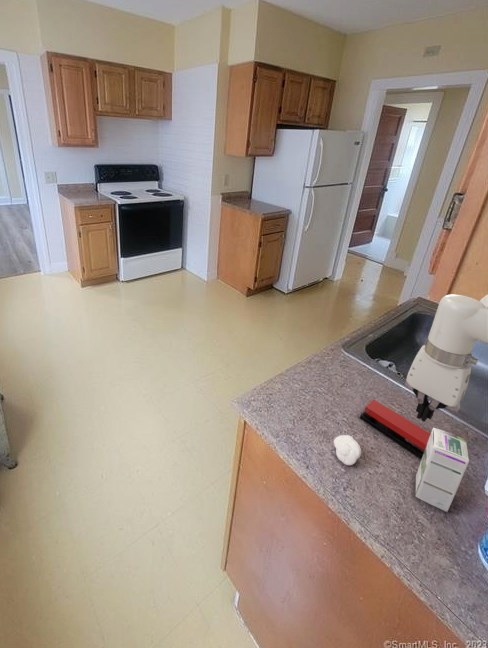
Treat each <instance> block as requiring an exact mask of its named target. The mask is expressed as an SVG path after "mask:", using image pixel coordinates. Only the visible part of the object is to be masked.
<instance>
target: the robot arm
mask: <svg viewBox="0 0 488 648" xmlns="http://www.w3.org/2000/svg"><path fill="white" fill-rule="evenodd" d="M476 341H478V342H482V343H484V344H486V345H488V294H486V295H485V296H483V297H482V298H481V299H480V300H478V299H475V298H474V297H470V296H467V295H462V294H447V295H446V294H445V295H444V296H443V297H442V298H441V299H440V301H439V302H438V306H437V308H436V311H435V316H434V319H433V321H432V325H431V327H430V330H429V334H428V336H427V340H426V343H425V344H423V345H422V346H421V347H420V349H419V350H418V352H417V353H416V354H415V357H414V359H413V361H412V362H411V366H410V368H409V370H408V372H407V374H406V375H407V376H406V380H405V381H404V382H403V384H404V386H405V387H407V388H408V389H409V390H411V391H412V392H413V394H414V395H415V397H416V401H417V406H416V409H415V412H416V413H417V415H416V418H417V419H418V420H421V421H422V422H423V423H425V422H426V421H427V420H428V419H429V420H431V419H432V418H433V416H434V414H435V411H436V410H440V409H446V410H448V411H451V412H455V413H458V412H459V410H460V409H461V401H462V400H463V399H464V397H465V394H466V392H467V389H468V385H469V381H470V378H471V371H472V365H474V366H476V365H477V364H478V362H479V358H476V357H475V356H474V354H473V349H474V347H475V344H476ZM429 397H430V398H432V400H429Z"/></svg>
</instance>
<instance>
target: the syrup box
mask: <svg viewBox="0 0 488 648" xmlns="http://www.w3.org/2000/svg"><path fill="white" fill-rule="evenodd" d="M430 434H431V435H430V437H429V440H428V443H427V445H426V448H425V451H424V454H423V457H422V459H420V463H419V465H418V468H417V470H416V474H415V493H414V494H415V498H417V499H419V500H421V501H422V502H424V503H426V504H429V505H431V506H433V507H435V508H437V509H439V510H442V511H444V512H446V513H448V511H449V510H450V508H451V505H452V503H453V501H454V498H455V496H456V494H457V491H458V489H459V487H460V485H461V481H462V480H463V476H464V475H465V473H466V470H467V468H468V465H469V463H470V458H469V451H468V443H467V439H466V438H463V437H461V436H459V435H457V434H454V433H451V432H449V431H446V430H443V429H441V428H437V427H432V429H431V432H430Z"/></svg>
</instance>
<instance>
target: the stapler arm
mask: <svg viewBox="0 0 488 648" xmlns="http://www.w3.org/2000/svg"><path fill="white" fill-rule="evenodd" d="M363 410H364V411H363V412H365V413H367V414H368V415H370V416H372V417H373V418H375V419H376V420H378V421H379V422H381V423H382V424H384V425H385V426H387V427H389V428H390V429H392V430H393V431H395V432H396V433H398V434H399V435H401V436H403V437H404V438H406V439H407V440H409V441H410V442H412V443H413V444H415V445H417V446H418V447H420V448H421V449H423V450H424V451H425V448H426V445H427V443H428V440H429V437H430V435H431V432H429V431H427V430H425V429H424V428H422V427H421V426H419V425H417V424H416V423H414V422H412V421H410V420H409V419H407V418H405V417H404V416H403V415H400V414H399V413H397V412H396V411H394V410H392V409H390V408H389V407H387V406H385V405H384V404H382V403H381V402H379V401H377V400H375V399H374V398H373V399H372V400H371V401H370V402H369V403H367V405H365V407H364V409H363Z"/></svg>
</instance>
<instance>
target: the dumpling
mask: <svg viewBox="0 0 488 648" xmlns="http://www.w3.org/2000/svg"><path fill="white" fill-rule="evenodd" d="M333 445H334V448H335V455H336V457H337V459H338V460H339V462H341V463H343V464H344V465H345V466H353V465H354V464H356V463H357V461H358V460H359V459H360V457H361V455H362V449H361V446H360V444H359V443H358V442H357V440H355V439H354V438H353V436H351V435H348V434H340V435H338V436H336V437H335V438H334V439H333Z"/></svg>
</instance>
